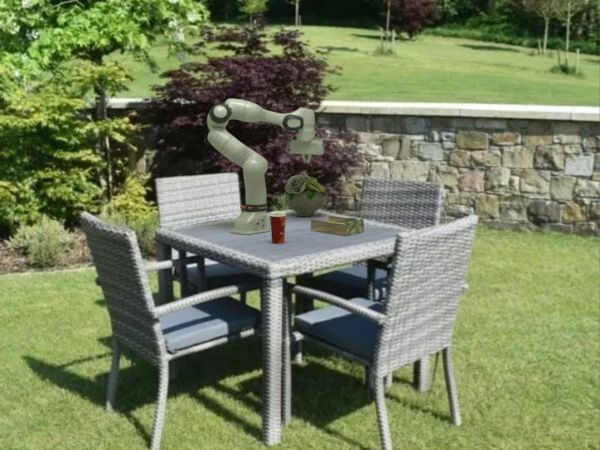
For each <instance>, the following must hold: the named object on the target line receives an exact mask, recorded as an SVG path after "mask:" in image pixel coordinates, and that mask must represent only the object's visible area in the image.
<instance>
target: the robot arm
mask: <svg viewBox="0 0 600 450" xmlns="http://www.w3.org/2000/svg"><path fill="white" fill-rule="evenodd" d="M315 117H316V116H315V111H314V110H313V109H312V108H311V107H304V106H300V107H299V108H298V109H296V110H295V111H293V112H284V113H282V112H281V113H280V112H276V111H275V112H274V111H270V110H267V109H265V108H263V107H261V106H260V105H258V104H256V103H255V102H252V101H248V100H245V99H238V98H228V99H226V100H225V102H224V103H217V104H215V105H213V106H212V107H211V108H210V110H209V113H208V114H207V118H206V126H207V129H208V134H207V141H208V142H209V143H210V145H211V146H212V147H214V149H215V150H217V151H218V152H219V153H220V154H222V156H224V157H225V158H226V159H228V160H229V161H230V162H231V163H234V164H236V165H237V166H239V167H240V168H242V171H243V181H244V187H245V203H244V205H242V204H241V205H240V206H239V208H240V209H241V210H242V212H241V213H240V214H239V215H238V217H236V219H235V220H234V223H233V228H231V229H229V233H232V234H237V235H244V236H245V235H247V236H248V235H255V234H261V233H267V232H271V227H270V224H269V223H270V222H269V216H268V202H267V187H266V179H265V175H266V174H265V173H267V171H268V169H269V165H268V163H269V162H268V161H267V159H266V158H265V157H264V156H262V155H260V154H259V153H258V152H256V151H254V150H253V149H251V148H250V147H248V146H247V145H245V143H243V142H241V141H240V139H239V140H238V139H237V138H236V137H235V136H234V135H232V134H231V133H230V132H228V130H227V129H226V128H227V126H228V124H229V121H231V120H238V121H241V122H244V123H245V122H246V123H258V122H264V123H265V122H266V123H268V124H272V125H273V124H274V125H277V126H280V128H282V129H283V130H284V131H287V132H295V131H298V133H297V134H295V135H292V136H290V142H289V143H290V144H289V153H290V154H294V155H301V158H302V159H303V163H306V164H309V163H310V162H311V158H312V156H323V155H324V154H325V149H324V140H323V139H322V138H321V137H316V131H315V125H316V118H315Z"/></svg>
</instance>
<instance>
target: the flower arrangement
mask: <svg viewBox="0 0 600 450" xmlns="http://www.w3.org/2000/svg"><path fill="white" fill-rule="evenodd" d="M317 181H318V180H317V178H316V177H313V176H312V175H307V174H300V175H299V174H297V175H293V176H290V177H289V178H288V181H287V182H286V183H285V187H284V190H285V192H286V193H287V194H286V195H287V196H286V203H287V205H288V208H289V209H291V211H294V212H295V213H296V214H297V216H299V217H312V216H313V215H314V214H313V213H315V212H317V211H318V210H319V209H321V208H322V206H323V202H324V196H325V192H326V190H325V189H324V187H323V186H322V185H321V184H320V183H319V182H317Z"/></svg>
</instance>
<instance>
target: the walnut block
mask: <svg viewBox="0 0 600 450" xmlns="http://www.w3.org/2000/svg"><path fill="white" fill-rule="evenodd" d="M345 218H346V222H349V221H354V220H358V218H355V217H345Z"/></svg>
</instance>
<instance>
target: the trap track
mask: <svg viewBox="0 0 600 450" xmlns="http://www.w3.org/2000/svg"><path fill="white" fill-rule="evenodd" d="M346 218H347V217H342V216H334V215H328V221H325V220H324V221H323V220H318V219H313V218H312V219H310V231H311V232H314V233H316V232H317V233H323V234H329V235H335V236H340V237H341V236H342V237H348V236H352V235H356V234H360V233H363V232H365V220H364V218H359V219H358V218H357V220H354V221H349V222H346Z"/></svg>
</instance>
